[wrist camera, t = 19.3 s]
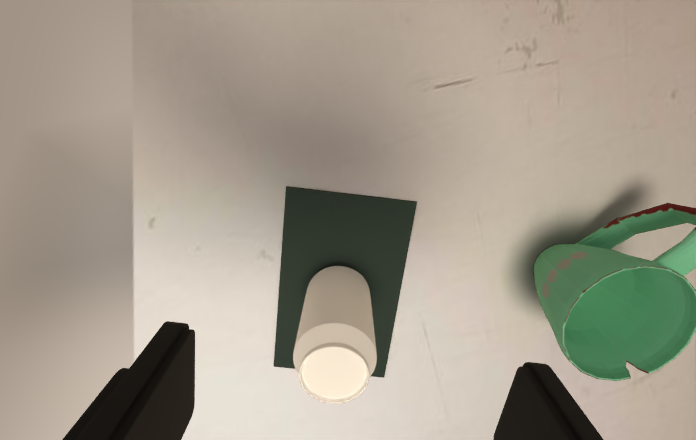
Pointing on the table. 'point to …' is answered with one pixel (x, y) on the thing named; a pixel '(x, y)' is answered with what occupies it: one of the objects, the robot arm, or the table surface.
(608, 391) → the table surface
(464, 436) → the table surface
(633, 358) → the mug
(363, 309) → the beverage can
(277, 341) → the mat
